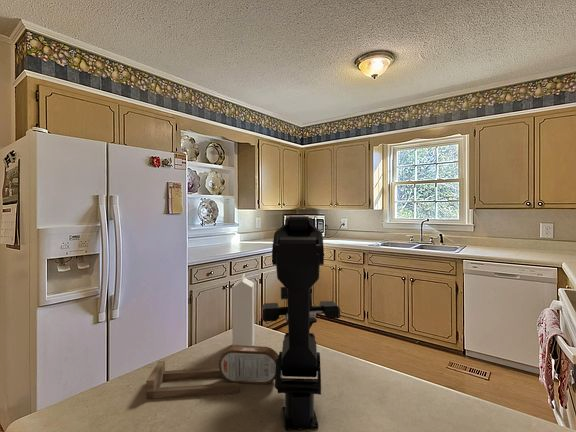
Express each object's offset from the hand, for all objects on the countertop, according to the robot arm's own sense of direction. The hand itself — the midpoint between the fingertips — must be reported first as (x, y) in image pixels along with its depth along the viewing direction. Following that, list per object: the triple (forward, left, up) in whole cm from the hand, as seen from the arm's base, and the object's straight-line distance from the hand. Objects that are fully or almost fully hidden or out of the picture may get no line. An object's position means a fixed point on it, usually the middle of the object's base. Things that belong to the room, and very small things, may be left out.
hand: (300, 345), depth 77 cm
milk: (+20, +14, -8) cm, 26 cm away
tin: (0, +12, -9) cm, 15 cm away
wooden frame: (0, +24, -8) cm, 26 cm away
